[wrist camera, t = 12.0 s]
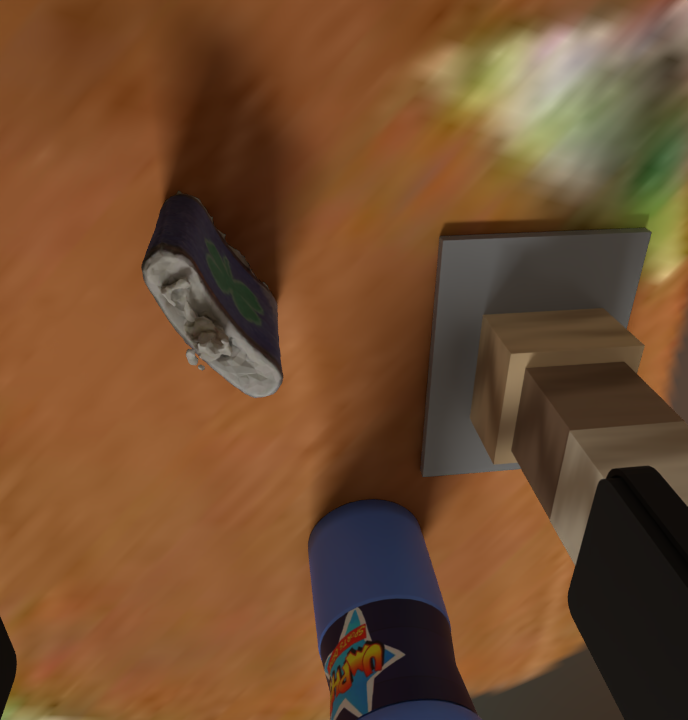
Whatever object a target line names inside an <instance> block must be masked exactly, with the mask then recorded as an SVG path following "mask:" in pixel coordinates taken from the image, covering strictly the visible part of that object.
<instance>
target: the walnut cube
mask: <svg viewBox="0 0 688 720" xmlns="http://www.w3.org/2000/svg"><path fill="white" fill-rule="evenodd" d="M680 421H684V420H683V419H681V417H680V416H679V415H678V414H677V413H676V412H675V411H674V410H673V409H672V408H671V407H670V406H669V405H668V404H667V403H666V402H665V401H664V400H663V399H662V398H661V397H660V396H659V395H658V394H657V393H656V392H655V391H654V390H652V389H651V388H650V387H649V386H648V385H647V384H646V383H645V382H644V381H643V380H642V379H641V378H640V377H639V376H638V375H637V374H636V373H635V372H634V371H633V370H632V369H631V368H630V367H629V366H628V365H627V364H626V363H625V362H610V363H594V364H579V365H564V366H548V367H533V368H525V373H524V379H523V385H522V391H521V396H520V402H519V408H518V414H517V419H516V425H515V431H514V437H513V442H512V448H511V452H512V453H513V455H514V457H515V459H516V460H517V462H518V464H519V466H520V468H521V469H522V471H523V473H524V475H525V476H526V478H527V480H528V482H529V483H530V485H531V487H532V489H533V491H534V492H535V494H536V496H537V498H538V499H539V501H540V503H541V505H542V506H543V508H544V510H545V512H546V514H547V515H548V517H549V519H550V517H551V513H552V508H553V504H554V499H555V494H556V490H557V485H558V481H559V476H560V472H561V467H562V463H563V458H564V454H565V449H566V445H567V440H568V436H569V431H571V430H583V429H595V428H607V427H620V426H632V425H644V424H656V423H668V422H680ZM684 422H685V421H684Z"/></svg>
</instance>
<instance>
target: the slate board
mask: <svg viewBox="0 0 688 720" xmlns="http://www.w3.org/2000/svg"><path fill="white" fill-rule="evenodd" d="M650 236H651V231H649V230H648V229H646V228H625V229H601V230H576V231H552V232H527V233H503V234H478V235H454V236H440V237H439V249H438V261H437V273H436V286H435V298H434V310H433V322H432V334H431V346H430V358H429V370H428V382H427V395H426V407H425V419H424V431H423V443H422V455H421V467H420V471H421V474H422V476H423V477H431V476H442V475H454V474H466V473H478V472H490V471H502V470H514V469H521V468H520V466H519V464H518V463H508V464H496V465H493V463H492V461H491V459H490V457H489V455H488V453H487V451H486V449H485V447H484V445H483V443H482V441H481V439H480V437H479V435H478V433H477V431H476V429H475V428H474V426H473V424H472V422H471V420H470V413H471V405H472V397H473V389H474V381H475V373H476V365H477V358H478V350H479V342H480V334H481V326H482V318H483V315H488V314H506V313H524V312H542V311H560V310H578V309H596V308H604V309H605V310H606V311H607V312H608V313H609V314H610V315H611V316H612V317H614V318H615V319H616V320H617V321H618V322H619V323H620V324H621V325H622V326H624V327H625V328H626V329H627V325H628V321H629V317H630V314H631V310H632V306H633V302H634V298H635V294H636V290H637V286H638V283H639V279H640V275H641V271H642V267H643V263H644V259H645V256H646V252H647V248H648V244H649V240H650Z"/></svg>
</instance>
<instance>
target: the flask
mask: <svg viewBox="0 0 688 720" xmlns="http://www.w3.org/2000/svg"><path fill="white" fill-rule="evenodd" d="M212 219H213V217H211V216H210V215H209V213H208V212H207V210H206V208H205V207H204V206H203V205H202V204H201V202H200V200H199V199H198V198H196V197H194V196H191V195H188V194H183V193H181V192H180V191H178V193H177V194H176V195H174V196H171V197H170V198H169V199H167V200H166V201H165V203H164V204H163V206H162V208H161V210H160V214H159V218H158V221H157V224H156V228H155V231H154V234H153V236H152V239H151V241H150V244H149V246H148V249H147V251H146V255H145V258H144V260H143V263H142V266H141V267H142V272H143V279H144V281H145V283H146V285H147V287H148V289H149V290H150V292H151V293H152V295H153V296H154V298H155V300H156V302H157V303H158V305H159V306H160V308H161V309H162V311H163V312H164V314H165V315H166V317H167V319H168V320H169V322H170V323H171V324H172V326H173V327H174V329H175V330H176V331H177V332H178V333H179V334H180V336H181V337H182V338H183V339H184V341H185V343H186V344H188V345H189V346H190V347H191V348H192V349H188V350H187V352H186V356H187V359H188V361H189V363H190V364H191V365H197V363H198V358H196V356H195V353H196V354H198V355H199V358H201V359H202V360H204V361H205V362H206V363H207V364H208V365H209V366H210V367H211V368H213V369H214V370H215V371H216V372H218V373H219V374H220V375H222V376H223V377H224V378H225V379H226V380H227V381H228V382H230V383H231V384H232V385H233V386H235V387H236V388H238V389H239V390H241V391H242V392H244V393H245V394H247V395H249V396H251V397H254V398H257V397H265V396H268V395H271V394H274V393H275V392H276V391H277V390H278V388H279V387H280V385H281V384H282V381H283V373H282V367H281V360H280V357H281V355H280V348H279V336H278V313H277V302H276V301H275V298H274V297H273V295H272V293H271V292H270V290H269V288H268V285H266V283H265V282H263V283H262V282H261V281H260V280H258V279H257V277H256V276H255V274H254V273H252V269H250V265H249V263H248V262H247V261H246V260H245V256H243V255H241V253H240V251H238V250H236V249H234V248H233V247H231V246H230V245H228V244H227V242H226V240H225V235H226V234H223V233H222V232H220V231H219V230H217V228H216V227H215V226H214V223H213V220H212ZM198 368H199V369H201V370H204V369H205V368H204V366H202V365H199V366H198Z"/></svg>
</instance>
